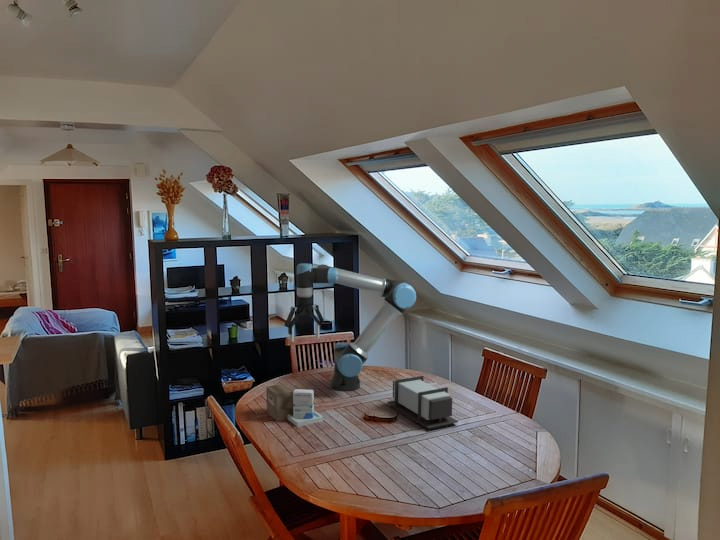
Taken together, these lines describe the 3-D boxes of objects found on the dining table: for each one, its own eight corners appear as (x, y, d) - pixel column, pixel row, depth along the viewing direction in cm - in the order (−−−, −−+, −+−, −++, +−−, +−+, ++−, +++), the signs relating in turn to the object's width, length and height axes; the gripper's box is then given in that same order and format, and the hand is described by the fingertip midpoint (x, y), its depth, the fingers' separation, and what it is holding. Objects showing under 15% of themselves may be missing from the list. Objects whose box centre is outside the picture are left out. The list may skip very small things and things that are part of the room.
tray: (310, 412, 254) (310, 407, 254) (323, 421, 244) (323, 416, 244) (285, 417, 248) (285, 413, 248) (297, 427, 237) (297, 422, 237)
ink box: (314, 415, 248) (314, 389, 246) (312, 419, 243) (312, 392, 241) (295, 414, 248) (295, 388, 247) (292, 418, 244) (292, 392, 242)
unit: (283, 409, 258) (282, 383, 256) (294, 417, 248) (293, 391, 246) (265, 412, 253) (265, 386, 252) (276, 421, 243) (275, 394, 242)
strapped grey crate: (414, 371, 269) (459, 392, 238) (414, 400, 271) (458, 425, 240) (386, 375, 262) (429, 398, 231) (386, 405, 264) (428, 432, 233)
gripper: (324, 292, 279) (324, 334, 281) (277, 296, 266) (277, 340, 268) (331, 294, 272) (331, 337, 275) (283, 299, 259) (284, 344, 262)
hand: (304, 339), depth 271 cm, fingers open, 13 cm apart
